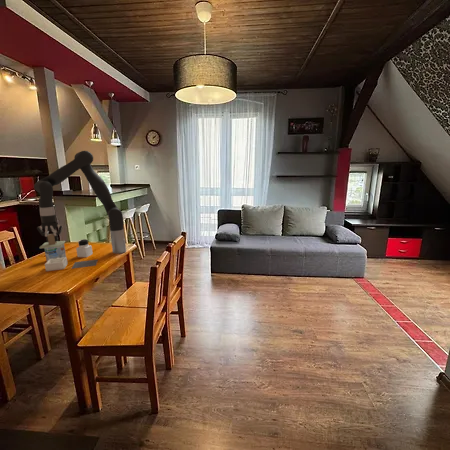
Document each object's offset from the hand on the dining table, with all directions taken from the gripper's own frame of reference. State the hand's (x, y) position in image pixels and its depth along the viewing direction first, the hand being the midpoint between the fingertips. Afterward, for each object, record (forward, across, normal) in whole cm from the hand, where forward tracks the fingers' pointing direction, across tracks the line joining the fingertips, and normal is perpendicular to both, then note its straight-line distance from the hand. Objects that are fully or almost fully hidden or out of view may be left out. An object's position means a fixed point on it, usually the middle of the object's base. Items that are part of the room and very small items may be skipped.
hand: (52, 241), depth 157 cm
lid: (+2, 0, 0) cm, 2 cm away
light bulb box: (+18, +5, -19) cm, 27 cm away
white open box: (+18, 0, 0) cm, 18 cm away
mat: (+17, -16, 0) cm, 24 cm away
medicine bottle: (+18, -13, -19) cm, 29 cm away
